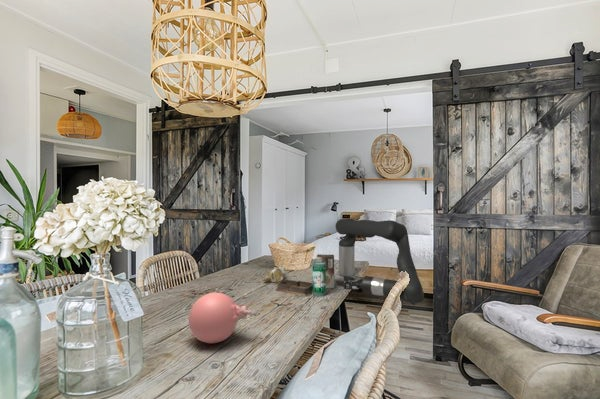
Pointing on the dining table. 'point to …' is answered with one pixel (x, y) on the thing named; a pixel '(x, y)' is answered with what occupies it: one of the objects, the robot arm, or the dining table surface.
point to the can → (319, 279)
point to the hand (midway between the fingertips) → (340, 280)
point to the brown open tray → (295, 287)
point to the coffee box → (328, 268)
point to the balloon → (215, 317)
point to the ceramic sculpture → (275, 275)
